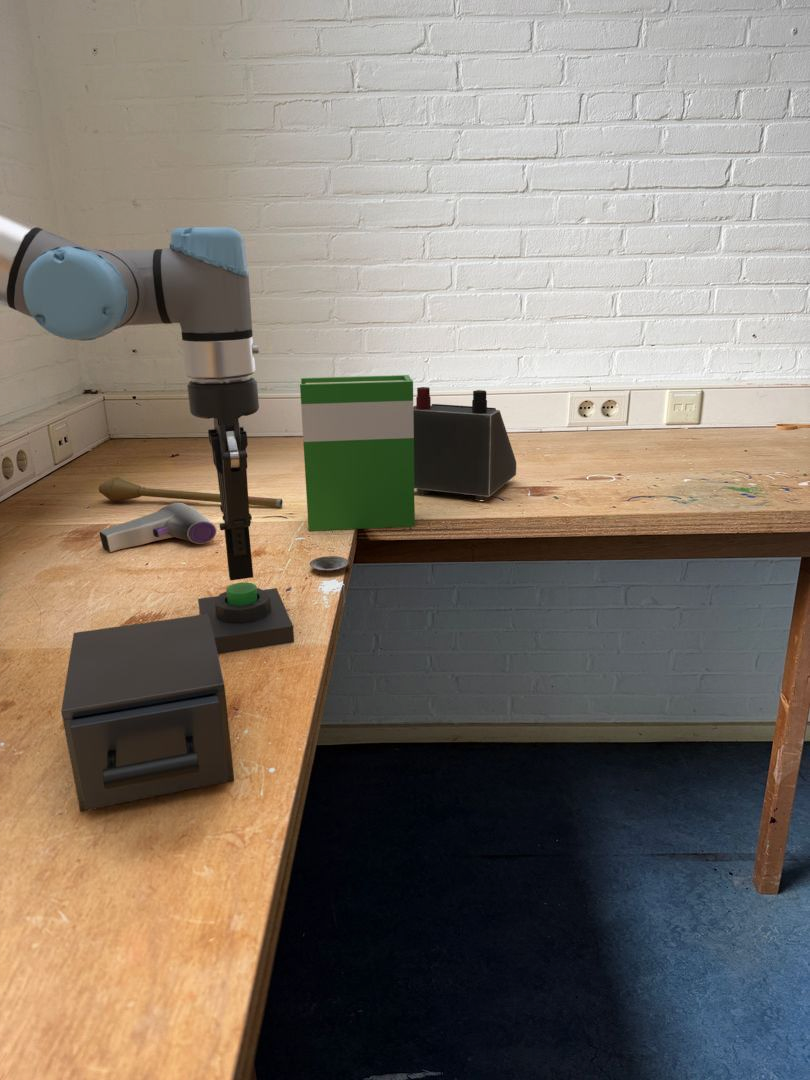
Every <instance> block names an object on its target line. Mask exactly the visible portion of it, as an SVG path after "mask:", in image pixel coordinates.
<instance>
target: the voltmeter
mask: <svg viewBox="0 0 810 1080" xmlns="http://www.w3.org/2000/svg"><path fill="white" fill-rule="evenodd" d="M430 390H431V388H430V387H428V386H421V387H417V388H416V397H415V399H416V401H415V403H416V404H415V405H413V418H414V489H416V492H417V494H418V493H419V494H418V495H421V494H425V495H428V494H429V493H430V491H435V492H444V493H453V494H463V495H472V496H475V500H476V499H477V500H486V499H488V500H489V498H490V497H491V496H492V495H493V494H495V493H496V492H497V491H498V490H500V489H501V488H502V487H503V486H505V485H504V484H506V483H507V484H508V483H509V481H511V479H513V478H515V476H517V460H516V457H515V453H514V450H513V447H512V444H511V441H510V438H509V435H508V431H507V429H506V426H505V422H504V419H503V416H502V413H501V410H500V409H497V408H496V407H488V400H487V391H486V390H483V389H482V390H481V389H477V390H473V391H472V400H471V405H457V404H440V403H432V404H431V401H432V400H431V395H430V394H431V393H430ZM507 484H506V485H507ZM427 493H428V494H427ZM477 500H476V501H477Z"/></svg>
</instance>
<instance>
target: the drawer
mask: <svg viewBox="0 0 810 1080" xmlns="http://www.w3.org/2000/svg"><path fill="white" fill-rule="evenodd" d="M70 730H71V735H72V741H73V746H74V752H75V757H76V762H77V768H78V773H79V779H80V784H81V790H82V795H83V801H84V806H85V810H86V811H89V810H88V809H91V810H94V809H93V808H96V809H99V808H98V807H101V808H104V807H103V806H106V807H109V806H108V805H111V806H114V805H113V804H116V805H119V804H118V803H121V804H124V803H123V802H126V803H129V802H128V801H131V802H134V801H133V800H136V801H139V800H138V799H141V800H144V799H143V798H146V799H149V798H148V797H151V798H154V797H153V796H156V797H159V796H158V795H161V796H164V795H163V794H166V795H169V794H168V793H171V794H174V793H173V792H176V793H179V792H178V791H181V792H184V791H183V790H186V791H189V790H188V789H191V790H194V789H193V788H196V789H199V788H198V787H201V788H204V787H203V786H206V787H209V786H208V785H211V786H213V785H212V784H216V785H218V784H217V783H221V784H223V783H222V782H226V783H228V782H227V781H228V777H227V768H226V759H225V750H224V740H223V731H222V722H221V713H220V704H219V698H218V695H215V696H209V695H204V696H198V697H192V698H186V699H180V700H174V701H169V702H163V703H157V704H151V705H145V706H139V707H133V708H127V709H121V710H115V711H110V712H104V713H98V714H92V715H86V716H83V718H80V719H74V720H71V726H70Z"/></svg>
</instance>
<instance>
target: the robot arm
mask: <svg viewBox="0 0 810 1080" xmlns="http://www.w3.org/2000/svg"><path fill="white" fill-rule="evenodd" d="M248 269H249V268H248V261H247V256H246V247H245V240H244V237H243V235H242V234H241V233H240V232H239V230H237V229H235V228H234V227H233V228H232V227H227V226H223V227H222V226H204V227H203V226H201V227H199V226H198V227H177V228H174V229H173V230H172V231H171V232H170V243H169V247H163V248H156V249H97V248H89V247H86V246H85V245H81V244H79V243H76V242H74V241H72V240H69V238H68V239H67V238H66V237H63V236H61V235H58V234H56V233H54V232H51V231H49V230H46V229H43V228H40V227H39V226H36V225H35V224H32V223H30V222H28V221H25V220H22V219H20V218H19V217H16V216H13V215H12V214H9V213H7V212H4V211H2V210H0V304H1V305H2V306H6V307H8V308H10V309H13V310H15V311H17V312H19V313H21V314H23V315H25V316H28V317H31V318H32V319H34V321H36V323H37V324H38V325H40V327H42V328H43V329H44V330H45V331H47V332H48V333H50V334H52V335H53V336H55V337H59V338H61V339H65V340H69V341H72V340H73V341H80V342H81V341H93V340H96V339H99V338H102V337H105V336H106V335H109V334H110V333H112V332H114V331H115V330H118V329H120V328H122V327H123V328H124V327H125V326H140V325H142V326H143V325H159V324H160V325H161V324H163V325H164V324H165V325H170V324H179V327H180V331H181V345H182V356H183V364H184V375H185V376H186V377H187V378H190V379H191V380H190V381H189V382H188V383H187V385H186V387H187V395H188V404H189V412H190V414H191V415H192V416H194V417H196V418H199V419H205V420H209V419H213V428H212V429H211V428H210V429H208V430H207V433H208V434H207V435H208V441H209V442H208V443H209V444H210V446H211V450H212V451H211V452H212V460H213V465H214V466H215V469H216V475H217V483H218V490H219V491H218V492H219V494H220V500H221V502H220V506H219V508H220V511H221V514H222V521H223V522H222V523H219V530H220V531H224V539H225V551H226V559H227V560H226V561H227V568H228V569H227V570H228V577H229V580H230V581H237V580H246V579H251V578H254V569H253V560H252V559H253V558H252V547H251V536H250V535H251V534H250V527H251V524H252V520H253V518H252V514H251V513H250V505H249V501H248V496H249V487H248V472H247V471H248V470H247V469H248V459H247V458H248V453H247V447H248V442H249V441H248V434H247V430H245V429H244V426H240V422H239V419H240V418H241V417H247V416H251V415H254V414H255V413H257V412H258V411H259V408H260V403H259V402H260V401H259V391H258V381H257V380H256V379H255V378H254V377H251V376H252V375H253V374H255V372H256V361H255V359H256V358H255V357H254V356H253V355H257V354H259V353H260V352H261V351H260V347H259V345H258V344H253V343H254V340H253V339H254V337H253V336H254V335H253V321H252V306H251V305H252V304H251V291H250V274H249V270H248Z"/></svg>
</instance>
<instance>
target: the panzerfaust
mask: <svg viewBox="0 0 810 1080" xmlns="http://www.w3.org/2000/svg"><path fill="white" fill-rule="evenodd" d="M98 493H100V494H101V495H102V496H104V497H105V498H106V499H108V500H109V501H110V502H114V503H119V502H123V501H127V500H132V499H138V498H141V497H149V498H150V497H151V498H152V497H153V498H164V499H172V500H173V499H174V500H175V499H176V500H185V501H186V500H188V501H200V502H210V503H211V502H212V503H221V500H220V493H212V492H199V491H188V490H187V491H186V490H177V489H175V490H174V489H161V488H152V487H151V488H150V487H145V486H143V487H142V486H141V485H138V484H136V483H133V482H130V481H128V480H125V479H123V478H121V477H119V476H115V477H112V478H109V479H108V480H106V481H104V482H102V483H101V484H99V485H98ZM248 501H249V506H259V507H271V508H273V507H274V508H282V507H283V499H282V498H276V497H275V498H274V497H262V496H250V495H248Z"/></svg>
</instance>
